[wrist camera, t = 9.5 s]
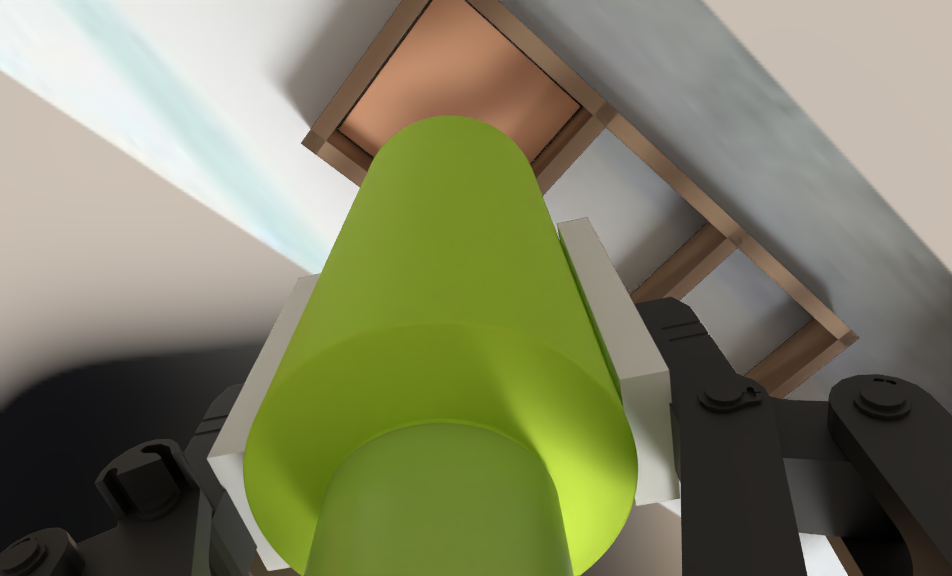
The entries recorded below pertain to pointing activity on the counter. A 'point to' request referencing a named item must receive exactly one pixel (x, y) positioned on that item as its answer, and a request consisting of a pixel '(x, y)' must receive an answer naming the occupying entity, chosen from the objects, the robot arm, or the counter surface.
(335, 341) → the soap dispenser
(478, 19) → the pocket rack
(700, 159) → the counter surface
